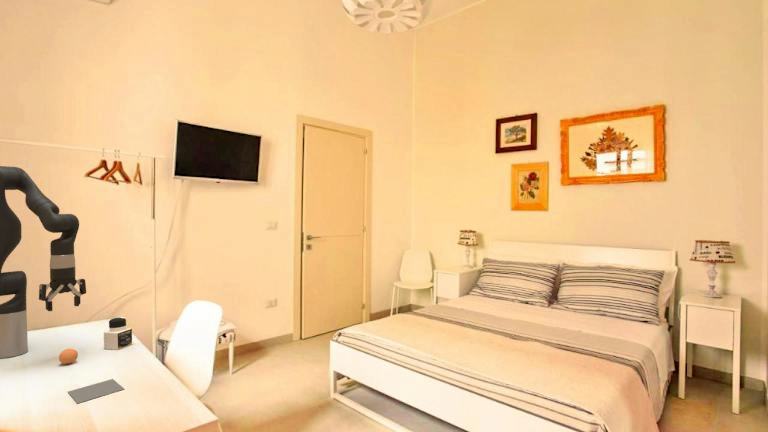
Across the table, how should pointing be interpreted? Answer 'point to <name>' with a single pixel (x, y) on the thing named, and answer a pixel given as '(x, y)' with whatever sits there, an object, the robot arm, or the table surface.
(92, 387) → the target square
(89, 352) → the table surface
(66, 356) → the ball
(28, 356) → the table surface
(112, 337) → the medicine bottle
